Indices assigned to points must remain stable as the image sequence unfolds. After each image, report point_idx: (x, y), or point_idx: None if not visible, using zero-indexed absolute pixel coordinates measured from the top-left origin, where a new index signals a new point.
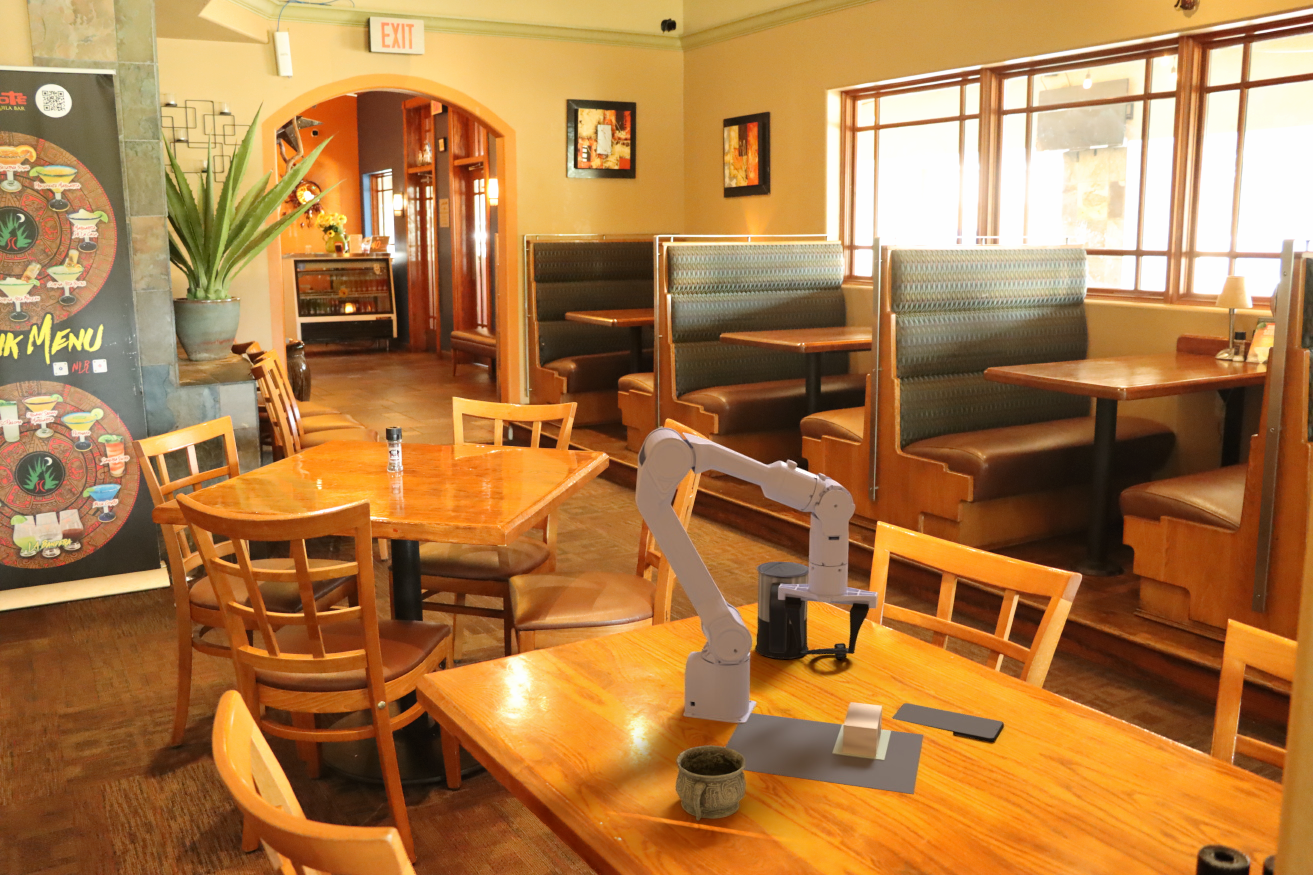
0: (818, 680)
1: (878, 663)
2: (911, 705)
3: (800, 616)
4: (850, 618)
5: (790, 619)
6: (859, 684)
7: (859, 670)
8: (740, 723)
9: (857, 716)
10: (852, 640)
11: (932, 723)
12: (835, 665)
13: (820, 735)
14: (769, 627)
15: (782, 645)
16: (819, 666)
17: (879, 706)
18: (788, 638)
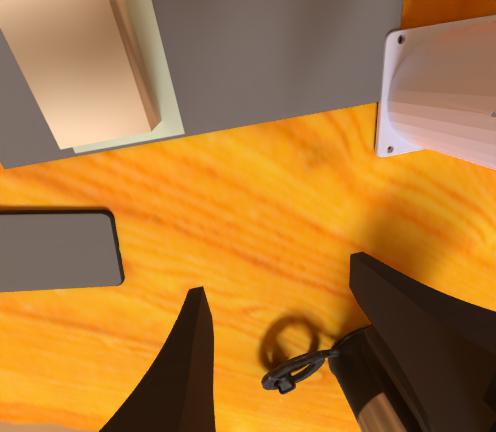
0: (290, 295)
1: (224, 379)
2: (105, 280)
3: (442, 338)
4: (178, 412)
5: (474, 306)
6: (225, 312)
7: (242, 350)
8: (395, 30)
9: (78, 26)
10: (185, 320)
11: (22, 227)
12: (280, 347)
13: (207, 49)
14: None
15: (376, 336)
16: (302, 335)
17: (63, 140)
18: (369, 363)
